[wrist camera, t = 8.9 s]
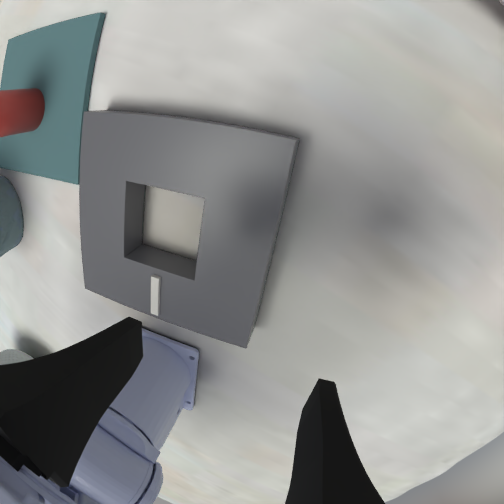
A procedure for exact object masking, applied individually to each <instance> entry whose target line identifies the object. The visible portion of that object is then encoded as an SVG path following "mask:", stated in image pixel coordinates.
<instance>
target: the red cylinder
mask: <svg viewBox="0 0 504 504" xmlns="http://www.w3.org/2000/svg"><path fill="white" fill-rule="evenodd" d="M44 110H45V101H44V96H43V94H42V92H41V91H40V90H39V89H37V88H30V89H13V90H1V91H0V137H5V136H10V135H15V134H20V133H25V132H31V131H34V130H36V129H37V128H38V127H39V125H40V124H41V121H42V119H43V116H44Z"/></svg>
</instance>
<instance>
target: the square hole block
mask: <svg viewBox="0 0 504 504" xmlns="http://www.w3.org/2000/svg"><path fill="white" fill-rule="evenodd" d="M298 144H299V138H295V137H291V136H287V135H282V134H278V133H273V132H268V131H264V130H259V129H254V128H249V127H243V126H238V125H232V124H226V123H220V122H214V121H208V120H201V119H194V118H187V117H179V116H170V115H161V114H151V113H140V112H128V111H112V110H100V111H84V115H83V126H82V138H81V154H80V188H79V200H80V234H81V250H82V263H83V273H84V283H85V288H86V289H88V290H90V291H92V292H95V293H97V294H99V295H102V296H104V297H106V298H109V299H111V300H113V301H116V302H118V303H120V304H123V305H125V306H128V307H130V308H133V309H135V310H138V311H140V312H143V313H145V314H148V315H150V316H153V317H156V318H158V319H161V320H164V321H166V322H169V323H172V324H174V325H177V326H180V327H183V328H186V329H188V330H191V331H194V332H197V333H200V334H203V335H206V336H209V337H212V338H215V339H218V340H221V341H224V342H227V343H230V344H233V345H237V346H240V347H243V348H247V345H248V342H249V340H250V337H251V335H252V332H253V329H254V326H255V323H256V319H257V315H258V311H259V307H260V303H261V299H262V295H263V291H264V287H265V283H266V279H267V275H268V271H269V267H270V263H271V259H272V255H273V251H274V246H275V242H276V238H277V234H278V230H279V226H280V222H281V217H282V213H283V209H284V205H285V200H286V196H287V192H288V188H289V183H290V179H291V175H292V170H293V166H294V161H295V157H296V153H297V148H298ZM145 185H148V186H152V187H157V188H161V189H166V190H170V191H175V192H179V193H183V194H187V195H192V196H196V197H200V198H204V199H205V202H204V209H203V216H202V224H201V231H200V239H199V247H198V255H197V261H196V260H192V259H189V258H186V257H182V256H179V255H176V254H172V253H169V252H166V251H163V250H159V249H156V248H153V247H150V246H146V245H143V244H142V234H143V213H144V198H145Z"/></svg>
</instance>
